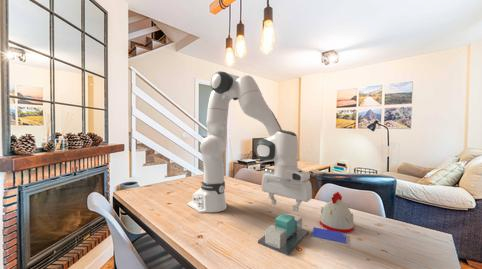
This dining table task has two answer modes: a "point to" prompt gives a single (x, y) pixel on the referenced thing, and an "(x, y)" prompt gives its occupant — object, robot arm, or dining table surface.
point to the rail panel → (289, 242)
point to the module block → (286, 223)
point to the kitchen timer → (337, 216)
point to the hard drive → (329, 235)
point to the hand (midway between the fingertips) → (284, 207)
